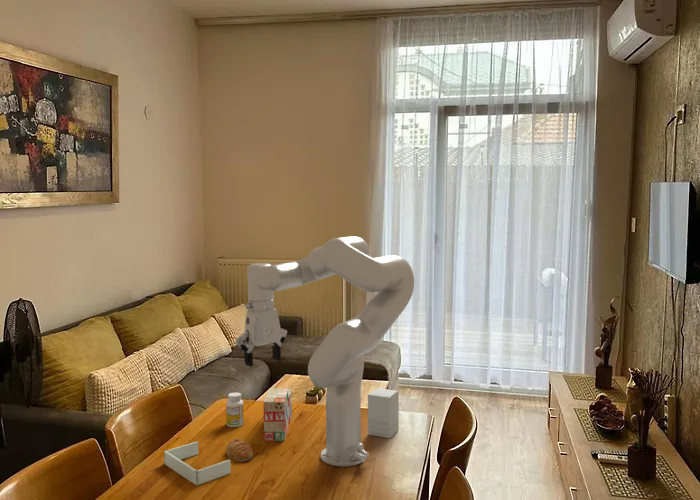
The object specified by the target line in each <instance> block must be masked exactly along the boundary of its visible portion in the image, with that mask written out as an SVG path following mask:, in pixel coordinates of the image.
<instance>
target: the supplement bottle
mask: <svg viewBox="0 0 700 500" xmlns="http://www.w3.org/2000/svg"><path fill="white" fill-rule="evenodd" d="M227 398H228V400H227V401H226V403H225V409H226V410H225V413H226V414H225V416H226V417H225V418H226V425H227V427H230V428H238V427H241V426H243V425H244V423H245V419H244V418H245V417H244V416H245V415H244V413H245V412H244V407H245V406H244V400H243V399H242V393H240V392H231V393H230V392H229V393H228V396H227Z"/></svg>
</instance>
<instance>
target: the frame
mask: <svg viewBox="0 0 700 500" xmlns="http://www.w3.org/2000/svg"><path fill="white" fill-rule="evenodd" d="M197 455H199V441H194V442H190V443H187V444H184V445H180V446H177V447H174V448H171V449H168V450H164V451H163V460H164V463H163V464H164V465H166V466H167V467H168V468H170V469H171V470H173V472H176V473H177V474H179V475H180V476H181V477H183V478H185V479H186V480H188V481H189V482H191V483H192V484H193V485H195V486H199V485H201V484H204V483H207V482H211V481H212V480H215V479H217V478H218V479H219V478H221V477H224V476H227V475H229V474H231V472H232V471H231V470H232V467H231V459H227V460H224V461H221V462H217V463H215V464H212V465H209V466H205V467H202V468H200V469H195V468H194V467H192V466H191V465H190V464H188V463H186V462H184V461H183V460H184V459H188V458H191V457H194V456H197Z"/></svg>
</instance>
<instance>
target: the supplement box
mask: <svg viewBox="0 0 700 500" xmlns="http://www.w3.org/2000/svg"><path fill="white" fill-rule="evenodd" d="M399 408H400V407H399V390H394V389H387V388H380V387H376V389H374V390H372V391H371V392H369V393H368V394H367V427H368V428H367V430H368V431H367V432H368V433H367V434H368V435H369V436H374V437H379V438H386V439H391V438H392V437H393V436H394V435H395V434H397V433H398V432H399V429H400V426H399V425H400V424H399V423H400V422H399V421H400V420H399V419H400V418H399V417H400V416H399V410H400V409H399Z"/></svg>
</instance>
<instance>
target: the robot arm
mask: <svg viewBox="0 0 700 500" xmlns="http://www.w3.org/2000/svg"><path fill="white" fill-rule="evenodd" d="M246 270H247V271H246V275H247V303H245V304H244V308H246V309H248V310H247V311H246V314H245V321H244V322H245V323H244V332H243V333H241V334H240V335H239V336H238V337H237V338H235V342H236V344H237V346H238V348H239V349H240V350H241V351H242V352H243V356H244V357H243V358H244V364H245V366H248V367H250V368H251V367H253V365H254V360H253V359H254V356H253V355H254V354H253V352H252V350H253V349H254V347H259V346H265V345H269V344H270V345H271V344H273V345H272V359H273V360H276V361H281V355H282V351H281V350H282V349H281V347H282V346H283V343H284V341H285V340H286V337H287V334H288V330H287V329H285V328H282V327H281V324H280V319H279V318H280V317H279V314H278V309H277V308H275V295H274V293H275V292H278V291H284V290H287V289H294V288H298V287H301V286H305V285H308V284H311V283H314V282H317V281H320V280H324V279H326V278H329V277H333V276H335V275H336V276H338V277H340V278H342V280H344V281H346V282H348V283H349V284H352V285H353V286H355V287H356V288H358V289H360V290H362V291H363V292H367V293H376V294H375V295H373V297H371V298H370V300H368V302H367V304H366V305H365V307H364V308H363V309H362V310H361V312H360V313H359V314H358V315H357V316H355V317H353V318H352V319H349V320H346V321H343V322H340V323H338V324H337V325H336V326H334V327H333V328H331V330H330V331H329V332H328V333H327V335H326V336H325V337H324V339H323V340H322V342H321V343H320V345H319V346H318V347H317V349H316V350H315V352H313V354H312V356H311V357H310V359H309V362H308V366H307V374H308V377H309V380H310V381H311V382H312V384H313V385H315V386H317V387H318V388H323V389H326V392H325V393H326V394H325V439H326V440H325V446H326V447H325V448H324V449H323V450H321V452H320V460H321V461H323V462H324V463H325V464H327V465H329V466H333V467H334V466H335V467H351V466H352V467H353V466H356V465H359V464H361V463H365V462H366V460H367V458H368V457H369V455H370V453H369V452H368V451H366V450H365V449H364V443H362V442H361V441H362V440H361V438H362V437H361V436H362V435H361V433H362V430H361V429H362V427H361V423H362V422H361V411H362V410H361V406H362V405H361V402H362V397H361V396H362V381H363V375H364V368H365V359H364V355H365V354H367V353H369V352H372V351H373V350H374V349H376V347H377V346H378V344H379V343H380V342H381V340H382V339H383V338H384V337H385V335H386V334H387V333H388V332H389V330H390V329H391V327H392V326H393V325H394V324H395V322H396V321H397V319H398V318H399V317H400V316H401V314H402V313H403V312H404V311H405V309H406V308H407V306H408V304H409V303H410V300H411V299H412V296H413V293H414V288H415V276H414V272H413V269H412V267H411V264H410V263H409V261H407V260H406V259H405V258H404V257H401V256H399V255H393V254H390V255H389V254H388V255H383V256H382V255H381V256H377V257H371V256H370V247H369V245H368V243H367V242H366V241H365V240H364V239H363V238H362V237H359V236H354V235H350V236H342V237H341V236H339V237H334V238H331V239H329V240H328V241H327V242H326V243H324V245H322V246H318V247H316V248H313V249H312V250H311V251H310V252H309V254H308V256H306V257H303V258H300V259H298V260H294V261H290V262H283V263H278V264H277V263H276V264H270V263H268V262H266V263H264V262H259V263H257V262H256V263H251V264H249V265H248V266H247V269H246ZM244 342H245V343H244Z"/></svg>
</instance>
